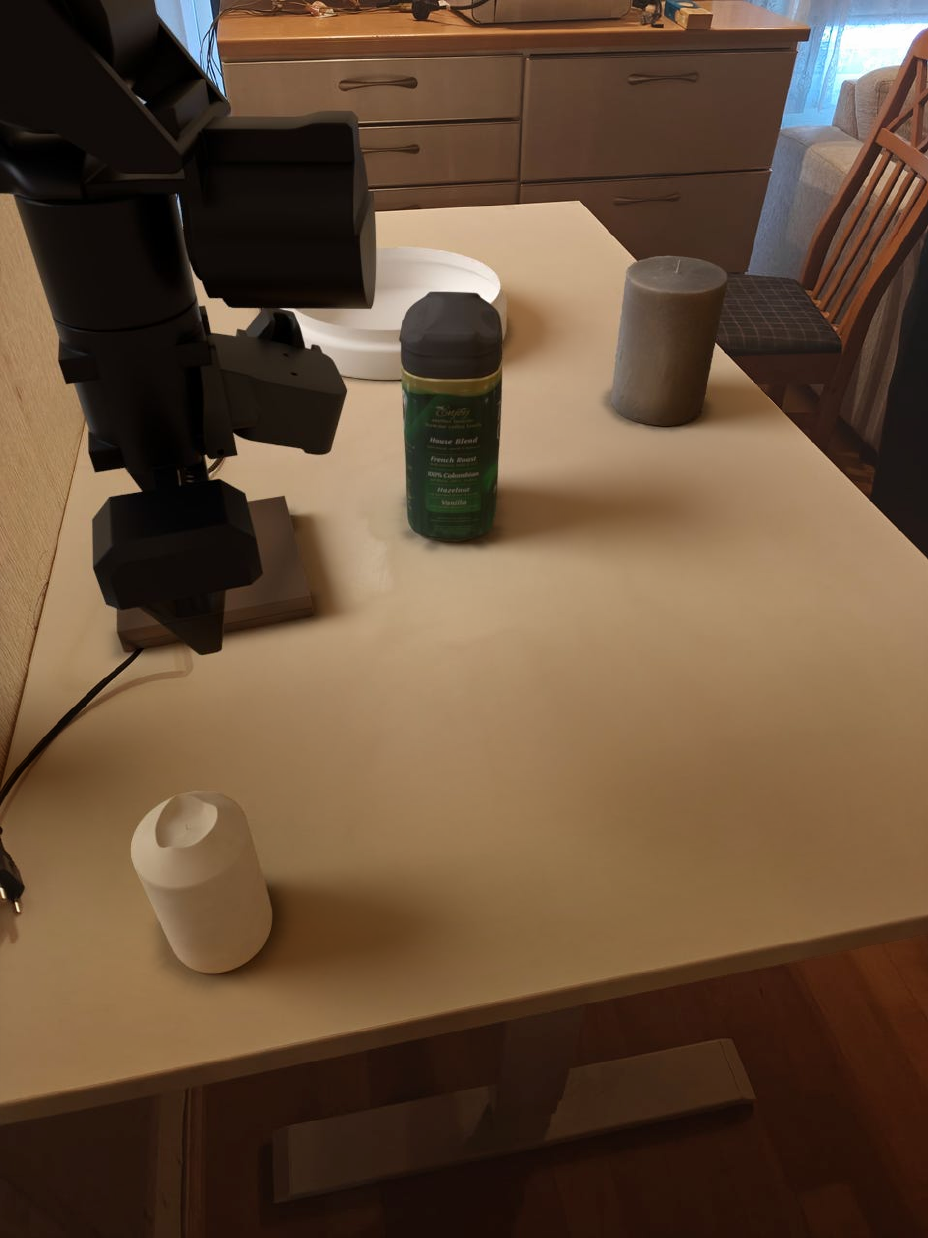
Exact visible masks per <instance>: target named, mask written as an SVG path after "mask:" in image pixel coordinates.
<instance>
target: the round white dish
mask: <svg viewBox="0 0 928 1238" xmlns="http://www.w3.org/2000/svg"><path fill="white" fill-rule="evenodd" d="M500 281H501V280H500V278H499V277H498V275H497V273H495V271H494V270H493V269H491V267H489V266H488V265H486V264H485V263H482V262H481V261H479V260H476V259H474V258H472V257H469V256H466V255H463V254H460V253H457V252H452V251H448V250H442V249H441V250H440V249H435V248H429V247H417V246H379V247H376V284H375V295H374V303H373V306H372V308H371V309H284V310H288V311H292V312H294V314H295V316H296V318H297V321H298V323H299V325H300V328H301V332H302V336H303V340H304V343H305V347H306V348H308V349H311V345H312V344H314V345H319V346H320V348H321V350H322V353H324V354H326V355H327V356H329V357H330V358H331V359H332V360H333V361H334V363H335V365H336V367H337V369H338V371H339V373H340V375H341V377H347V378H351V379H352V378H353V379H362V380H363V379H364V380H370V381H371V380H373V381H400V380H401V381H402V373H401V342H400V341H399V337H400V332H401V327H402V321H403V320H404V317H405V314H406V312H407V310H408V309H409V308H410V307H411V306H412V305H413V304H414V303H416V302H417V301H418V300H420V299H421V298H423V297H425V296H426V295H427V294H428V293H429V292H471V293H478V294H479V295H480V297H481V298H483V299H484V300H486V301H487V302H489V303H490V304H491V305H492V306H493V307H494V308H495V309H496V310H497V311H498V313H499V315H500V320H501V325H502V337H503V341H504V340H505V337H506V335H507V334H506V333H507V326H508V325H507V324H508V323H507V321H508V301H507V296H506V295H505V294H506V293H504V291H503V290H502V288H501V282H500Z"/></svg>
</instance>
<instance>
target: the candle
mask: <svg viewBox="0 0 928 1238" xmlns="http://www.w3.org/2000/svg"><path fill="white" fill-rule="evenodd" d="M246 815H247V814H246V813H245V811H244V810H243V808H242V806H241V805H240V804H239V803H238V802H237V801H236V800H235V799H234V798H232V797H230V796H228V795H227V794H224V793H222V792H218V791H213V790H193V791H188V792H180V793H178V794H175V795H174V796H172V797H170V798H168V799H165V800H164V801H162V802H160V803H159V804H158V805H156V806H155V807H154V808H152V809H151V810H150V811H149V812H148V813H147V814H146V815H145V816H144V817H143V818H142V820H141V821H140V822H139V824H138V825H137V827H136V829H135V830H134V833H133V836H132V840H131V844H130V858H131V861H132V864H133V867H134V869H135V871H136V873H137V876H138V879H139V880H140V882H141V884H142V886H143V889H144V891H145V894H146V895H147V897H148V900H149V902H150V904H151V906H152V908H153V910H154V913H155V915H156V917H157V919H158V922H159V923H160V926H161V928H162V931H163V932H164V935H165V937H166V940H167V941H168V944H169V945H170V947H171V949H172V951H173V953H174V955H175V956H176V957H177V959H178V960H179V961H180V962H181V963H182V964H183V965H185V966H186V967H187V968H189V969H191V970H193V971H195V972H198V973H201V974H202V973H203V974H221V973H225V972H229V971H232V970H236V969H237V968H239V967H241V966H243V965H245V964H246V963H248V962H249V961H250V960H252V959H253V958H254V957H255V956H256V955H257V954H258V953H259V952H260V950H261V949H262V948H263V947H264V945H265V944H266V942H267V940H268V938H269V936H270V933H271V930H272V925H273V908H272V904H271V901H270V896H269V892H268V888H267V885H266V882H265V878H264V874H263V871H262V868H261V865H260V860H259V857H258V853H257V850H256V846H255V843H254V839H253V836H252V833H251V828H250V824H249V822H248V818H247V816H246Z"/></svg>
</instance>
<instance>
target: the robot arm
mask: <svg viewBox="0 0 928 1238" xmlns="http://www.w3.org/2000/svg"><path fill="white" fill-rule="evenodd" d="M141 100H142V101H143V102H144V103H143V102H142V101H141ZM231 114H232V106H231V104H230V101H229V100H228V99H227V98H226V96H225V95H224V94H223V93H222V92H221V90H220V89H219V88H218V87H217V85H216V84H215V83H214V82H213V80H212V79H211V78H210V76H209V75H208V74H207V73H206V72H205V70H204V69H203V68H202V67H201V65H199V62H197V61H196V60H195V58H194V57H193V56H192V55H191V53H190V52H189V50H187V49H186V47H185V45H183V44H182V42H181V41H180V39H178V38H177V36H176V35H175V34H174V32H173V31H172V29H170V27H169V26H168V25H167V24H166V22H165V21H164V20H163V18H162V17H161V16H160V15H159V14H158V12H157V6H156V1H155V0H0V195H4V194H5V195H12V196H13V199H14V201H15V205H16V207H17V211H18V214H19V217H20V220H21V223H22V227H23V229H24V233H25V236H26V239H27V242H28V245H29V247H30V252H31V255H32V258H33V260H34V261H33V262H34V264H35V267H36V271H37V273H38V276H39V280H40V282H41V285H42V288H43V289H42V290H43V292H44V295H45V298H46V301H47V304H48V307H49V311H50V313H51V317H52V320H53V323H54V326H55V329H56V332H57V336H58V351H57V352H58V353H57V362H58V366H59V368H60V371H61V374H62V377H63V380H64V383H65V385H71V384H72V385H74V388H75V392H76V395H77V398H78V400H79V401H78V402H79V403H80V407H81V410H82V413H83V416H84V419H85V423H86V426H87V428H88V429H87V450H88V451H87V453H88V456H89V459H90V462H91V465H92V468H93V471H94V473H95V474H96V473H102V472H107V471H108V472H109V471H116V470H121V469H125V470H126V473H128V474H129V476H130V477H131V479H132V480H133V481H134V483H135V484H136V485H137V486H138V488H139V489H140V490H141V491H137V492H131V493H124V494H118V495H112V496H109V497H108V498H107V499H106V501H105V502H104V503H103V505H102V506H101V507H100V508H99V510H98V511H97V512H96V513H95V515H94V516H93V517H92V519H91V535H92V536H91V538H92V539H91V540H92V541H91V542H92V545H91V546H92V570H93V572H94V576H95V578H96V582H97V583H98V586H99V589H100V592H101V594H102V597H103V600H104V603H105V605H106V606H108V607H111V608H113V609H116V610H117V609H119V610H126V609H131V608H137V607H138V608H139V609H141V610H142V611H144V612H145V613H147V614H148V615H150V616H151V617H153V618H154V619H155V620H156V621H158V622H159V623H160V624H162V625H163V626H164V627H165V628H167V629H168V630H169V631H170V632H172V633H173V634H174V635H175V636H177V637H178V638H179V639H180V640H182V641H181V642H182V643H184V644H185V645H186V646H187V647H189V648H190V649H191V650H192V651H194V652H195V653H196V654H197V655H199V656H206V655H211V654H212V655H213V654H217V653H220V652H221V651H222V650H223V641H224V633H223V627H224V613H225V600H226V590H228V589H234V588H239V587H244V586H249V585H252V584H253V583H254V582H255V581H256V580H258V579H259V578H260V577H261V576H262V575H263V569H262V564H261V559H260V554H259V549H258V544H257V539H256V534H255V530H254V526H253V522H252V518H251V514H250V510H249V506H248V499H247V494H246V492H245V491H242V490H241V489H239V488H237V487H235V486H234V485H232V484H230V483H228V482H226V481H225V480H223V479H221V478H215V479H210V474H209V468H208V464H207V459H209V460H219V459H224V458H225V459H226V458H231V457H237V456H238V450H237V445H236V444H237V443H236V439H235V436H237V437H238V438H241V439H243V440H246V441H249V442H254V443H260V444H268V445H273V446H280V447H287V448H293V449H300V450H302V451H303V452H304V454H307V455H315V456H324V455H328V454H329V453H330V452H331V451H332V448H333V444H334V441H335V437H336V434H337V431H338V426H339V422H340V418H341V415H342V412H343V409H344V404H345V402H346V399H347V398H346V397H347V394H348V388H347V386H346V383H345V381H344V379H343V376H341V375H340V373H339V371H338V369H337V367H336V365H335V363H334V361H333V360H332V359H331V358H330V357H329V356H327V355H326V354H324V353H322V350H321V348H320V346H319V345H314V344H312V345H311V349H308V348H306V347H305V343H304V340H303V336H302V332H301V328H300V325H299V323H298V321H297V318H296V316H295V314H294V312H292V311H288V310H284V309H371V308H372V306H373V303H374V295H375V284H376V248H377V224H376V223H377V222H376V205H375V193H374V191H370V190H369V182H368V173H367V166H366V161H365V157H364V153H363V150H362V147H361V141H360V128H359V126H360V125H359V117H358V115H357V114H355V112H354V111H352V110H321V111H320V110H319V111H315V112H312V113H309V114H306V115H301V116H300V115H299V116H234V115H233V116H232V115H231ZM230 115H231V116H230ZM177 197H178V198H177ZM178 201H179V203H178ZM179 207H180V209H179ZM193 274H194V275H195V276H196V278H197V279H198V280H199V281H201V283H202V286H203V289H204V291H205V293H206V295H207V298H208V299H221V300H222V302H224V304H225V305H226V306H227V307H228V308H231V309H261V310H260V311H259V313H258V314H256V317H255V318H254V319H253V320H252V321H251V323H250V324H249V325H248V326H247V328H246V329H241V328H236V333H235V335H231V334H224V333H218V332H212V330H211V325H210V320H209V316H208V311H207V308H206V305H199V300H198V296H197V291H196V286H195V282H194V281H195V280H194V276H193ZM206 457H207V458H206Z"/></svg>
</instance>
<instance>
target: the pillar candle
mask: <svg viewBox="0 0 928 1238" xmlns="http://www.w3.org/2000/svg"><path fill="white" fill-rule="evenodd" d="M728 278H729V277H728V273H727V272H726V271H725V269H724V268H722V267H720V266H719V265H717V264H715V263H712V262H710V261H707V260H704V259H700V258H695V257H688V256H677V255H676V256H675V255H663V256H661V255H660V256H657V255H656V256H653V257H652V256H651V257H648V258H644V259H639V260H638V261H634V262H633V263H631V264H630V265H629V266H627V268H626V270H625V280H624V287H623V295H622V303H621V313H620V318H619V321H620V322H619V327H618V337H617V343H616V344H617V345H616V353H615V358H614V359H615V361H614V369H613V370H614V371H613V377H612V384H611V393H610V402H611V406H612V408H613V409H614V410H615V411H616V412H617V413H618V414H619V415H621V416H622V417H624V418H627V419H628V420H631V421H634V422H636V423H641V424H647V425H654V426H659V427H671V426H672V427H673V426H674V427H675V426H681V425H685V424H687V423H690V422H692V421H694V420H695V419H697V418H698V417H700V416H701V414H703V408H704V407H703V406H704V401H705V398H706V394H707V389H708V382H709V379H710V378H709V377H710V372H711V369H712V363H713V358H714V352H715V347H716V344H717V343H716V342H717V338H718V337H717V336H718V332H719V327H720V321H721V316H722V312H723V308H724V307H723V306H724V302H725V297H726V293H727V292H726V291H727V287H728V280H729V279H728Z"/></svg>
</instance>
